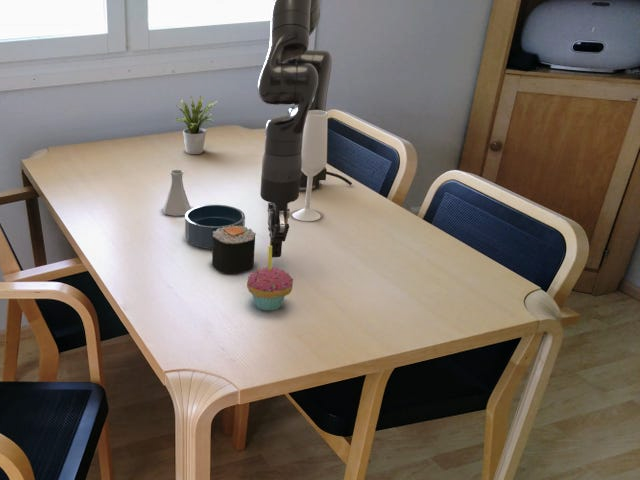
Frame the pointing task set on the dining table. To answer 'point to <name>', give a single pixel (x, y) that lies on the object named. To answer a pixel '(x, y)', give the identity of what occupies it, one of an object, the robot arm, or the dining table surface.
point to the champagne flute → (313, 157)
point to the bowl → (210, 223)
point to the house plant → (194, 126)
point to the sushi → (233, 249)
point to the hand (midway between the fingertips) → (275, 255)
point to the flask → (176, 196)
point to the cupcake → (269, 285)
